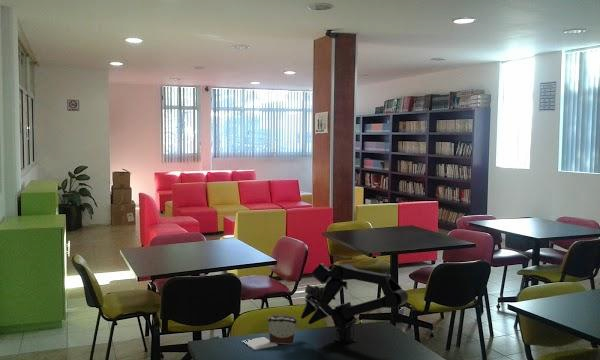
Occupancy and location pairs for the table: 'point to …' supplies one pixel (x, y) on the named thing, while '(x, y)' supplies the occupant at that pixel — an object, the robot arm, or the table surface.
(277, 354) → the table surface
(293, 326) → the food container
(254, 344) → the mat
